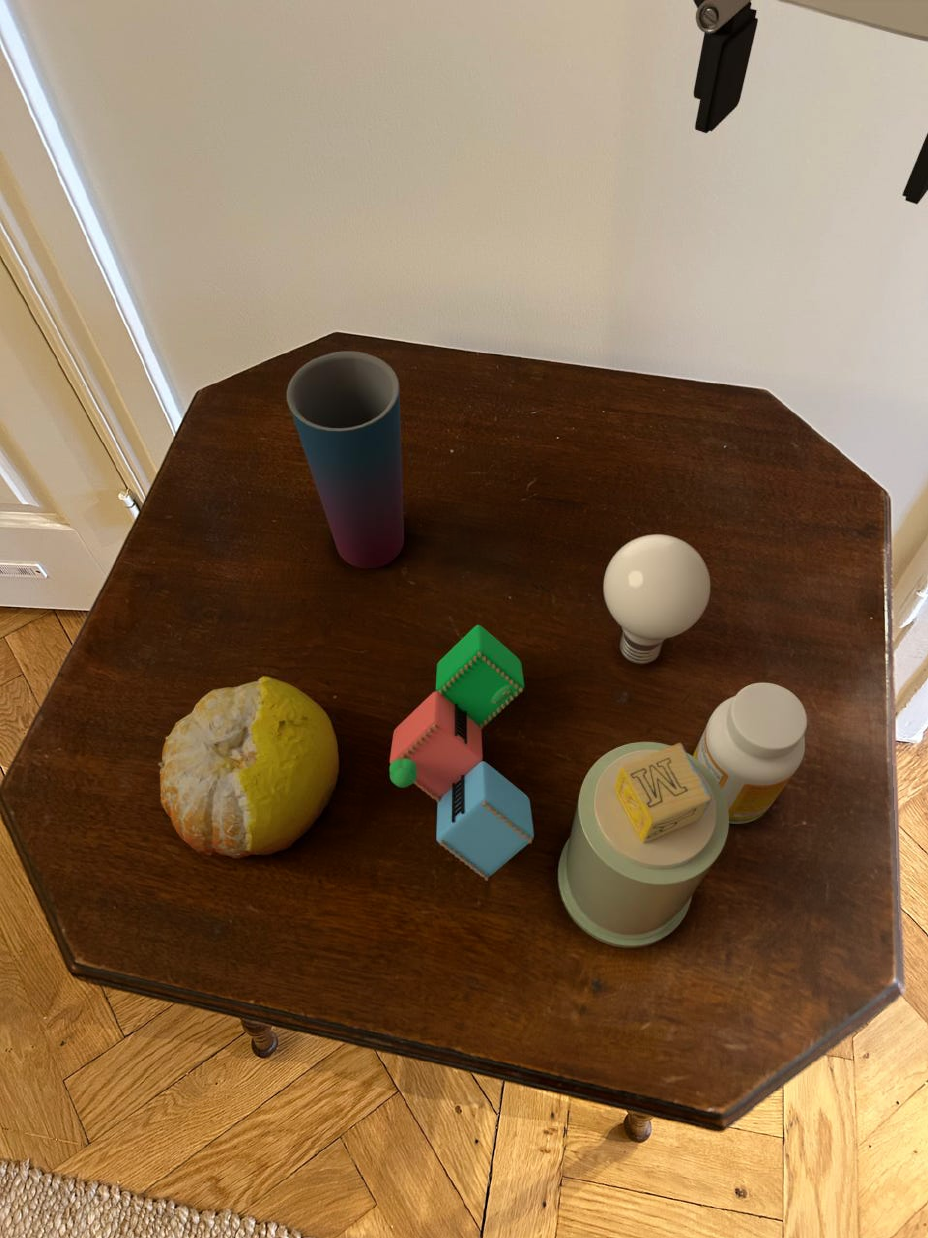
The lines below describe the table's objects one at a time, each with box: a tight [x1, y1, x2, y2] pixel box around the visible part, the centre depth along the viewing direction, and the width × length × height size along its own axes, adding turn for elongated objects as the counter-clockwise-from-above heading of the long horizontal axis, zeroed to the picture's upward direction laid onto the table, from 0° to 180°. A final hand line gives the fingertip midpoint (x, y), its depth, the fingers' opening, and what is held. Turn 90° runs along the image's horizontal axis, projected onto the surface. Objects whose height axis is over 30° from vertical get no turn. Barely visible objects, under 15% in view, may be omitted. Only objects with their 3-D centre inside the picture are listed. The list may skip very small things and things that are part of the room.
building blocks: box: [388, 624, 535, 882], centre depth 54 cm, size 8×8×12 cm
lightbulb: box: [602, 533, 712, 665], centre depth 57 cm, size 6×6×11 cm
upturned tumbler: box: [557, 741, 730, 949], centre depth 48 cm, size 8×8×12 cm
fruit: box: [157, 675, 340, 859], centre depth 55 cm, size 11×10×8 cm
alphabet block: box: [614, 742, 712, 843], centre depth 42 cm, size 3×3×3 cm
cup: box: [286, 351, 405, 569], centre depth 61 cm, size 7×7×15 cm
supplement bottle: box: [692, 682, 808, 825], centre depth 52 cm, size 5×5×10 cm
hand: (814, 151), depth 40 cm, fingers open, 9 cm apart
